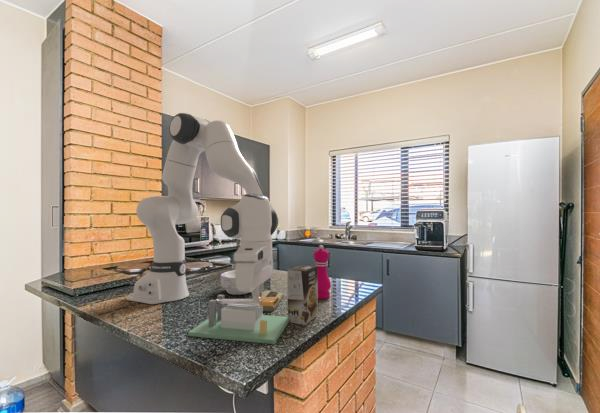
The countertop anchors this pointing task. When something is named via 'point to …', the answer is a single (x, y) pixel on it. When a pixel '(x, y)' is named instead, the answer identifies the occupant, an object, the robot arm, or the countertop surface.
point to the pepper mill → (322, 272)
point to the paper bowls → (230, 283)
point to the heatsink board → (243, 334)
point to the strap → (249, 301)
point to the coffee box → (302, 294)
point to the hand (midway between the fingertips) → (257, 300)
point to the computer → (271, 294)
